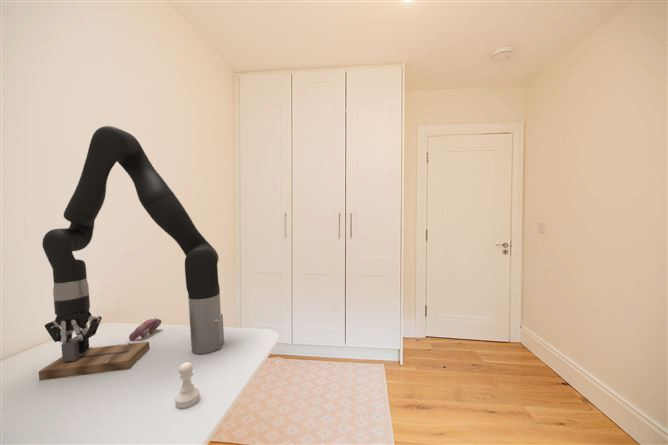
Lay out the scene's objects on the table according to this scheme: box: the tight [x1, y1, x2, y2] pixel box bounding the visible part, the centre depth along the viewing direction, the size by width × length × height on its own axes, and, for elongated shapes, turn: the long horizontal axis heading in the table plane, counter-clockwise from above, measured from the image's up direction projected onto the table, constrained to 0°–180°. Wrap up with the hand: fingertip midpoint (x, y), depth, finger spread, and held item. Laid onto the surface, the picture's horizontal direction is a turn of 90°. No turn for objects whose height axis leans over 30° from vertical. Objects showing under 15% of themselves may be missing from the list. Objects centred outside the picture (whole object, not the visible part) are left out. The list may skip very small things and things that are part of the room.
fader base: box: [38, 341, 151, 381], centre depth 82 cm, size 22×12×3 cm, turn 100°
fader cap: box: [61, 335, 90, 362], centre depth 81 cm, size 3×6×5 cm, turn 10°
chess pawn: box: [174, 362, 201, 410], centre depth 63 cm, size 5×5×9 cm
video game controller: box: [128, 317, 162, 342], centre depth 101 cm, size 10×5×7 cm, turn 170°
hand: (76, 352), depth 81 cm, fingers closed on fader cap, 3 cm apart
